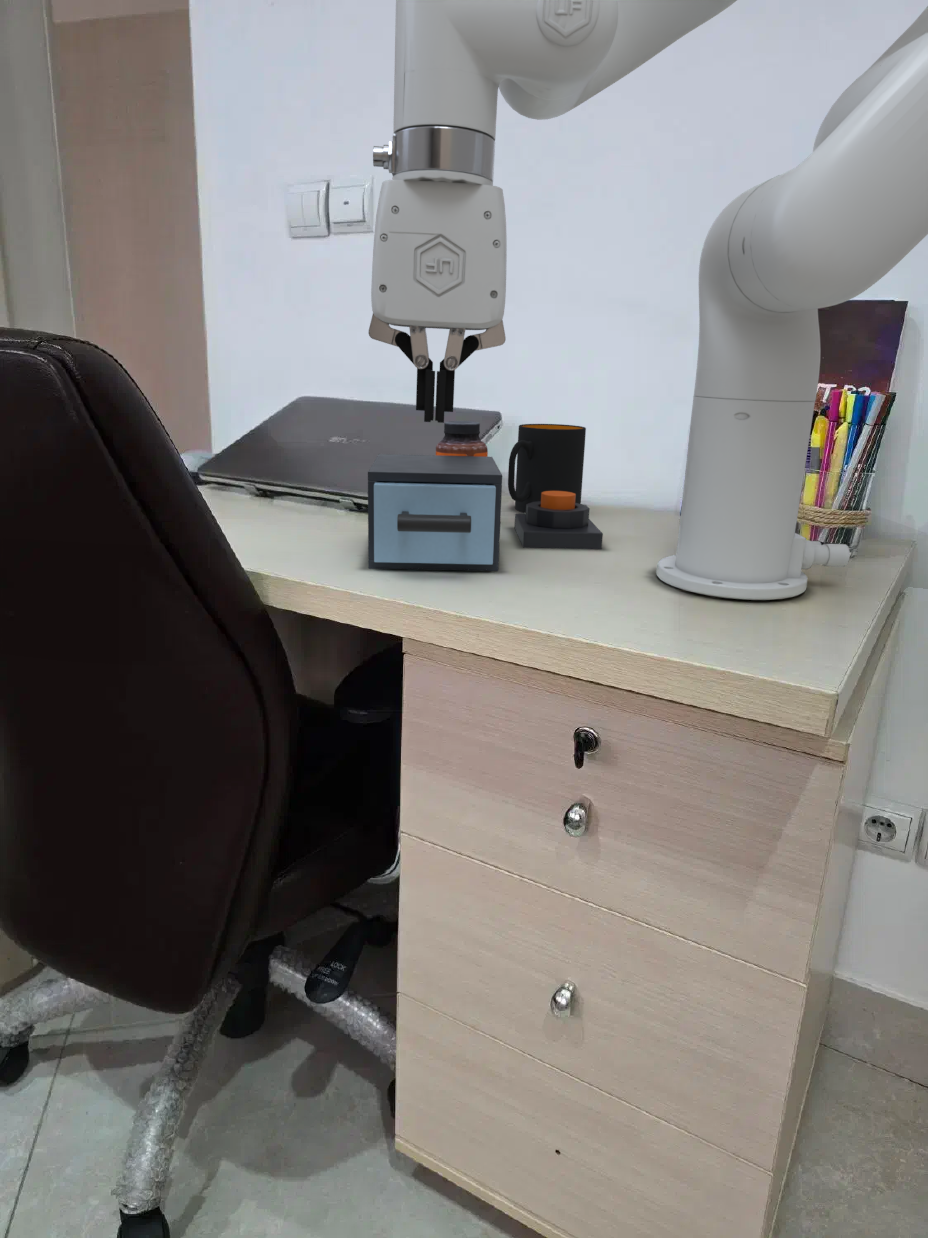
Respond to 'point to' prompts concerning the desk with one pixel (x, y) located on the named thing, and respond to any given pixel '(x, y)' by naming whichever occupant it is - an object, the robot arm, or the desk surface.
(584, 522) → the panel
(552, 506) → the release button
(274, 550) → the desk surface
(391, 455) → the drawer cabinet
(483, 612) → the desk surface
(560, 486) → the mug
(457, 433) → the supplement bottle
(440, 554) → the light blue drawer
